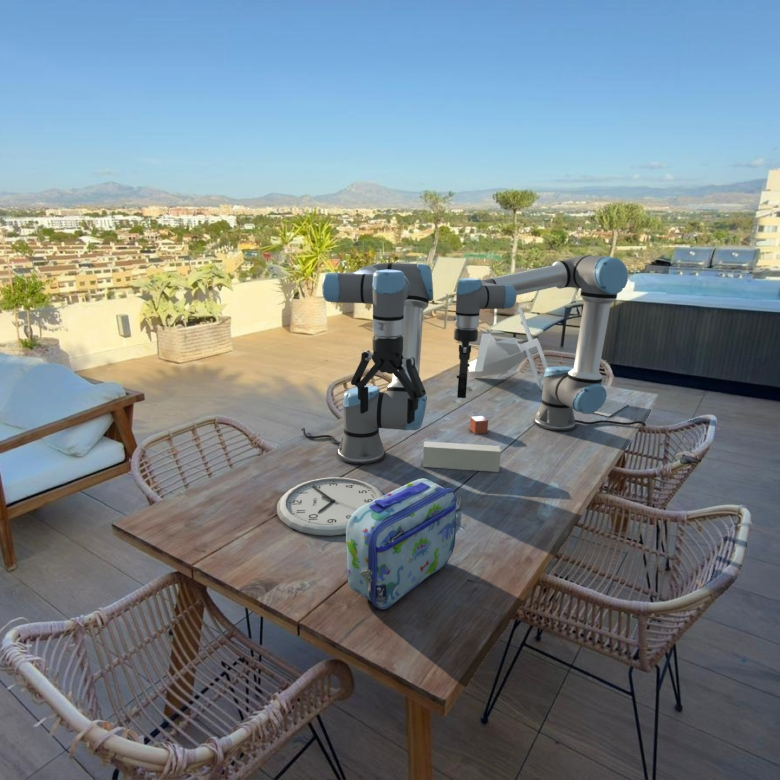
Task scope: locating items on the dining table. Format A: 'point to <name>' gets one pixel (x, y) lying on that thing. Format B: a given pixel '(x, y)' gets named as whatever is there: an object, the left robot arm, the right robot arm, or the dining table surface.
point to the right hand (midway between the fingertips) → (462, 391)
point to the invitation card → (610, 408)
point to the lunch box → (400, 540)
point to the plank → (461, 456)
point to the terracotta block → (478, 424)
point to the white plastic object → (506, 354)
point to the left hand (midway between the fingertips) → (387, 416)
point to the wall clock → (324, 504)
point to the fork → (458, 504)
